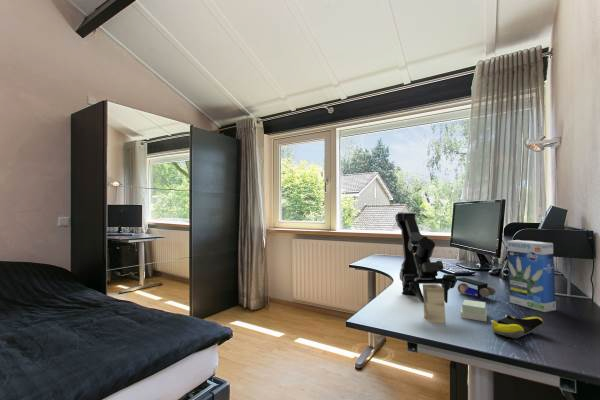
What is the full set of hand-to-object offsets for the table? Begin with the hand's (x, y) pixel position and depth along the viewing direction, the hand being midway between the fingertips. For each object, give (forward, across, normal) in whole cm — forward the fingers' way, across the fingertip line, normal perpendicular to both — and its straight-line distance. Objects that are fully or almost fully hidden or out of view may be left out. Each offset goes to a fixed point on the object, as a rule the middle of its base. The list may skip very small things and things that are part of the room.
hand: (434, 302), depth 104 cm
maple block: (+4, 0, +6) cm, 7 cm away
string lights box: (-8, +43, +17) cm, 47 cm away
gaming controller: (+12, +21, -2) cm, 24 cm away
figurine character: (-16, +27, +26) cm, 41 cm away
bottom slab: (+1, +16, +9) cm, 18 cm away
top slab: (-1, +16, +8) cm, 18 cm away
